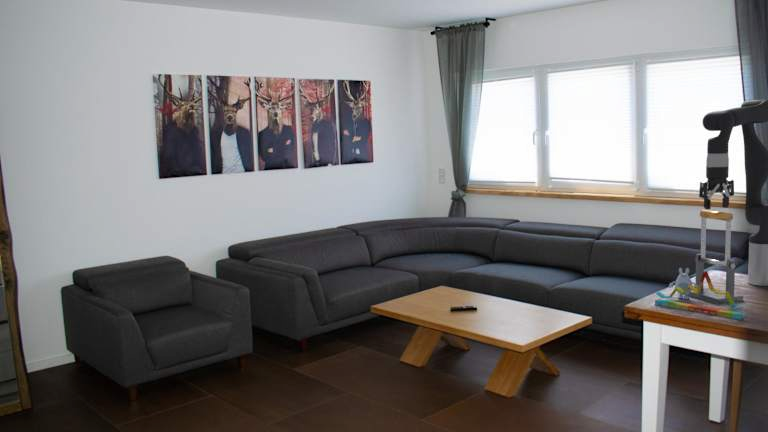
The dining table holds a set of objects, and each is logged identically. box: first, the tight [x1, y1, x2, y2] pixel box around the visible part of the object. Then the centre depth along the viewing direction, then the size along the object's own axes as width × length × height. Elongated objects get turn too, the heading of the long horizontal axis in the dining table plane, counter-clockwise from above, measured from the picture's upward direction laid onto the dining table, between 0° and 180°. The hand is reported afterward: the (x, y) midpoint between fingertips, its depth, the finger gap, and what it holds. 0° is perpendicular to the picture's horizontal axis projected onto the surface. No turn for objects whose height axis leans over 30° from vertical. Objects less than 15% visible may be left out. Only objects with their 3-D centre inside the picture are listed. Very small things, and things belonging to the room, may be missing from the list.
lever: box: [699, 209, 734, 268], centre depth 260 cm, size 3×13×20 cm, turn 19°
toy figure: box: [668, 267, 698, 300], centre depth 263 cm, size 11×6×12 cm, turn 63°
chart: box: [654, 270, 744, 320], centre depth 245 cm, size 30×3×15 cm, turn 40°
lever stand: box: [687, 253, 744, 305], centre depth 262 cm, size 12×18×16 cm
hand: (716, 208), depth 258 cm, fingers open, 8 cm apart
